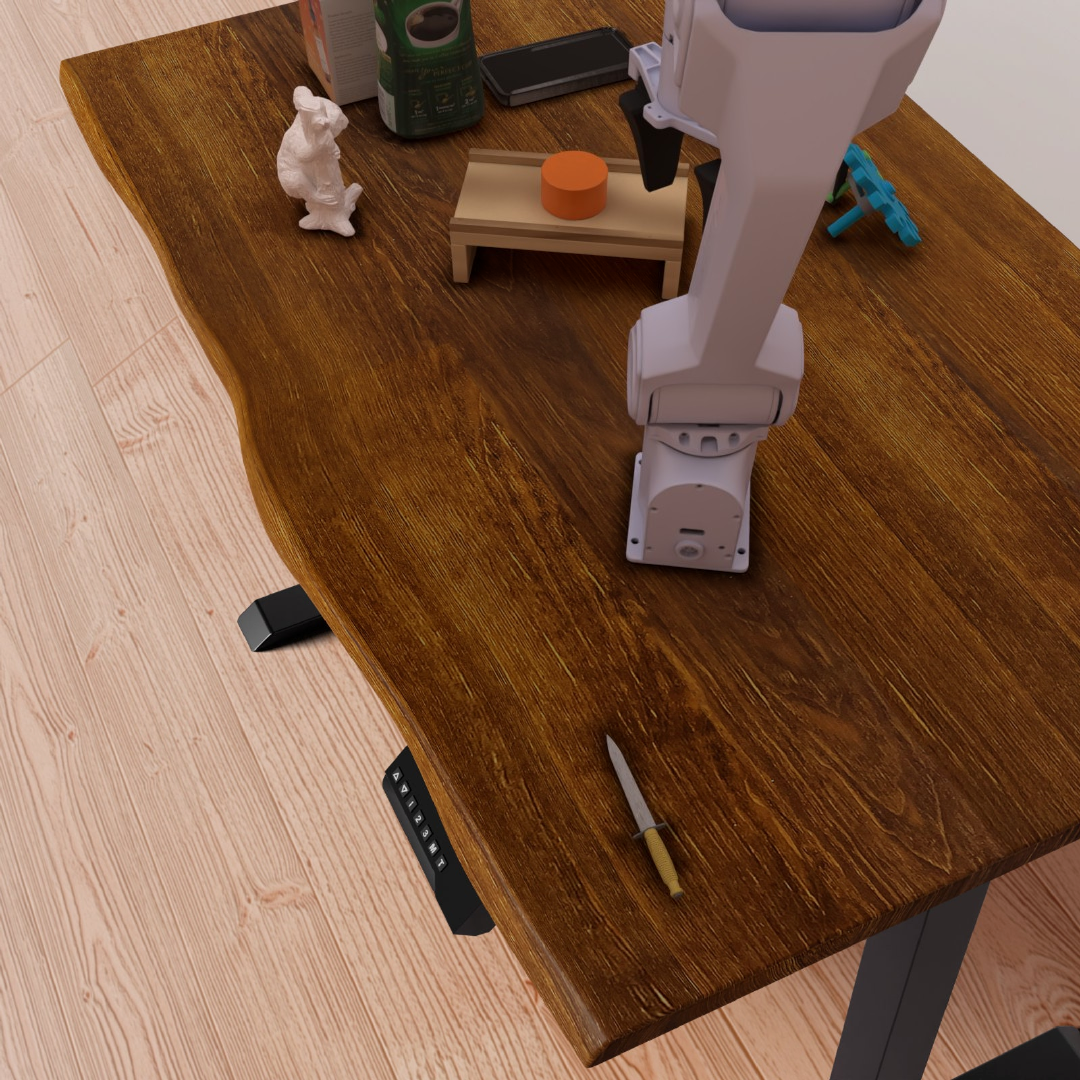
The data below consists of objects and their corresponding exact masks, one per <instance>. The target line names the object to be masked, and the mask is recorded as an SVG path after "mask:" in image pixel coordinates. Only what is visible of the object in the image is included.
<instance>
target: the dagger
mask: <svg viewBox="0 0 1080 1080" xmlns="http://www.w3.org/2000/svg"><path fill="white" fill-rule="evenodd" d="M606 743H607V750H608V753H609V757H610V760H611V762H612V764H613V767H614V770H615V772H616V775H617V778H618V779H619V782H620V784H621V787H622V789H623V790H622V791H623V792H624V794H625V797H626V799H627V801H628V804H629V807H630V810H631V813H632V815H633V817H634V819H635V822H636V824H637V827H638V829H639V832H638V833H636V834H634V835H633V836H632V839H633V840H637V839H641V838H644V839H645V841H646V845H647V848H648V850H649V853H650V855H651V858H652V861H653V863H654V865H655V868H656V870H657V871H658V873H659V875H660V877H661V879H662V881H663V883H664V885H666V886H667V887H668V889H669V893H670V897H671V898H674V899H675V900H676V899H680V898H681V897H682V896H683V894H684V889H683V888H681V886H680V883H679V877H678V874H677V871H676V869H675V866H674V863H673V860H672V859H671V856H670V853H669V852H668V850H667V847H666V846H665V844H664V842H663V840H662V838H661V836H660V835H659V833H658V831H659V830H661V829H663V828H665V827H666V826H667V823H666V822H662V823H658V824H657V823H656V822H655V819H654V817H653V816H652V814H651V811H650V810H649V808H648V805H647V803H646V800H645V799H644V797H643V795H642V792H641V791H640V789H639V786H638V784H637V783H636V780H635V778H634V776H633V774H632V771H631V770H630V767H629V766H628V764H627V762H626V759H625V757H624V755H623V753H622V751H621V750H620V748H619V747H618V745H617V744H616V743H615V742H614V740H613V739H612V738H611V737H610V736H609V735H608V734H606Z"/></svg>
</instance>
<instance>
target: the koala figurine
mask: <svg viewBox="0 0 1080 1080" xmlns="http://www.w3.org/2000/svg"><path fill="white" fill-rule="evenodd" d="M292 96H293V98H292V102H293V104H294V108H295V110H296V111H298V112H297V114H296V115H295V118H294V120H293V123H292V124H291V125H290V127H289V128H288V129H287V130H286V131H285V133H284V135H283V138H282V141H281V144H280V147H279V150H278V152H277V155H276V168H277V178H278V180H279V182H280V186H281V187H282V189H283V191H284V192H285V194H287V195H288V196H289V197H293V198H294V199H303V200H304V201H305V203H304V205H305V209H306V211H307V212H308V213H309V214H308V215H306V216H304V217H302V218H301V219H300V220H299V221H298V226H299V227H300V228H302V229H304V230H325V231H327V230H328V231H332V232H334V233H337V234H339V235H341V236H343V237H352V236H354V235H355V233H356V230H355V228H354V227H353V225H352V223H351V222H350V217H351V216H352V213H353V212H354V211H355V210H356V203H357V201H358V199H359V198H360V196H361V194H362V193H363V191H364V188H363V187H362V185H359V183H358V182H353V183H352V184H350V185H349V186H348V187H347V186H346V185H344V184H345V182H344V180H343V177H342V171H341V168H340V163H339V160H340V159H341V150H340V147H339V146H338V144H337V143H336V141H335V139H336V137H339V135H340V134H341V132H342V131H343V130H345V129H347V127H348V124H349V119H348V117H347V116H346V115H345V114H344V113H343V110H342V109H341V108H340V106H338V105H336V104H335V103H333V102H332V100H331V99H327V98H326V97H321V96H314V94H313V92H312V91H311V89H309V88H308V87H307V86H306V85H305V86H304V85H298V86H296V88H294V90H293V94H292ZM346 187H347V188H346Z"/></svg>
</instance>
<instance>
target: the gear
mask: <svg viewBox="0 0 1080 1080" xmlns="http://www.w3.org/2000/svg"><path fill="white" fill-rule="evenodd" d="M844 161H845V162H846V163H847V165H848V166H849V169H850V170H848V173H847V175H846V176H847V178H846V181H845V182H844V184H843V185H842V186H841V188H840V190H839V191H838V193H837V195H836V199H837V198H839V197H840V196H841V195H842V196H843V195H844V194H845V193H847V192H848V191H850V190H851V191H852V193H853V196H854V198H855V200H856V203H857V205H855V206H854V207H853V208H852V209H850V210H849V211H847V212H846V213H844V214H843V215H842V216H841V217H839V218H838V219H837V220H835V221H834V222H832V224H830V225H829V226H827V231H828V233H829V234H830V235H831V236H832V238H836V237H838V236H839V235H840V234H841V233H843V232H844V231H846V230H847V229H849V228H850V227H851V226H852V225H854V224H855V223H856V222H858V221H859V220H860V219H861V218H863V217H865V216H866V217H867V218H869V217H870V216H872V215H874V213H876V212H879V211H880V212H881V213H882V214H883V216H884V217H885V219H884V222H885V224H886V225H887V227H888V228H889V229H890V230H891V232H892V233H893V234H895V233H896V234H897V232H898V237H899V238H900V240H901V241H902V242H903V244H904V245H905V247H911V248H913V247H915V246H917V245H918V244H919V243H921V242H922V241H923V240H922V238H921V237H920V235H919V229H918V227H917V225H916V224H915V223H914V222H913V220H911V218H910V213H909V211H908V209H907V208H906V206H905V205H904V203H902V202H901V201H900V199H898V197H896V195H894V194H895V193H897V190H896V189H895V187H894V185H893V184H892V183H891V182H890V181H888V180H887V179H884V177H883V176H882V174H881V173H880V171H879V169H878V167H877V166H876V164H875V163H874V162H873V161H872V157H871V156H870V154H869V153H868V152H867V150H866V149H863V150H862V149H861V147H860V146H859V145H858V144H854V143H853V142H851V143H850V145H849V147H848V149H847V152H846V154H845V156H844ZM865 192H866V193H865ZM832 193H833V192H831V193H830V194H828V196H827V200H828V201H829V202H830V203H832V202H833V196H832ZM829 202H828V203H829ZM830 203H829V204H830Z"/></svg>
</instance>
